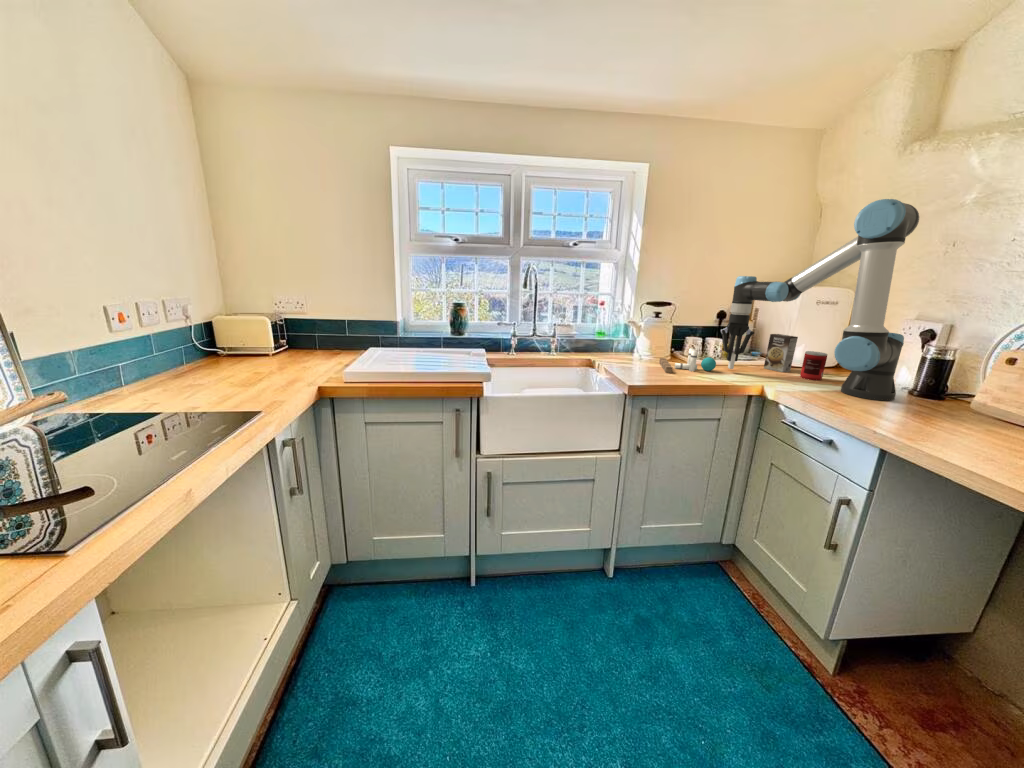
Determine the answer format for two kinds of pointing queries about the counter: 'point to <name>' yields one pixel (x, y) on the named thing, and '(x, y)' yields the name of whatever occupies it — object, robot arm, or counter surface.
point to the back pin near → (693, 360)
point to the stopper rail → (665, 365)
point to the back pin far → (689, 355)
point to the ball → (708, 364)
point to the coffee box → (780, 352)
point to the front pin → (683, 366)
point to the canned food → (813, 365)
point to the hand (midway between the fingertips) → (730, 368)
